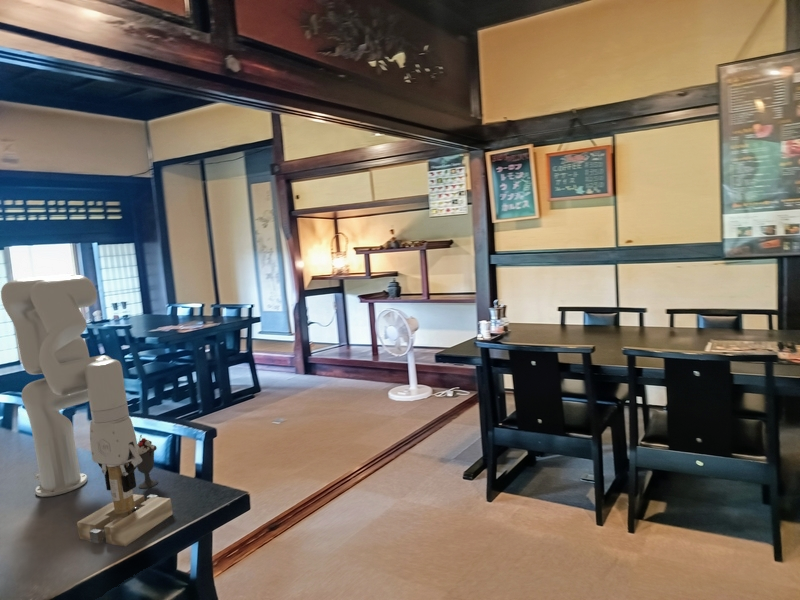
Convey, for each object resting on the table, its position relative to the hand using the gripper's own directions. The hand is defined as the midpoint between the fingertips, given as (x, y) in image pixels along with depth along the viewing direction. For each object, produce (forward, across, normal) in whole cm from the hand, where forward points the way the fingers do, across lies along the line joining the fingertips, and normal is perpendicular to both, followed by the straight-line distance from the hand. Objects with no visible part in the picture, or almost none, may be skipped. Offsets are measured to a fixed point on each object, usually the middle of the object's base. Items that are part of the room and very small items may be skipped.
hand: (121, 487), depth 126 cm
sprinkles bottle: (+6, 0, 0) cm, 6 cm away
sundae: (+10, -13, +19) cm, 25 cm away
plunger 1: (+8, 0, -5) cm, 10 cm away
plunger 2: (+8, 0, +5) cm, 10 cm away
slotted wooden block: (+9, 0, 0) cm, 9 cm away
